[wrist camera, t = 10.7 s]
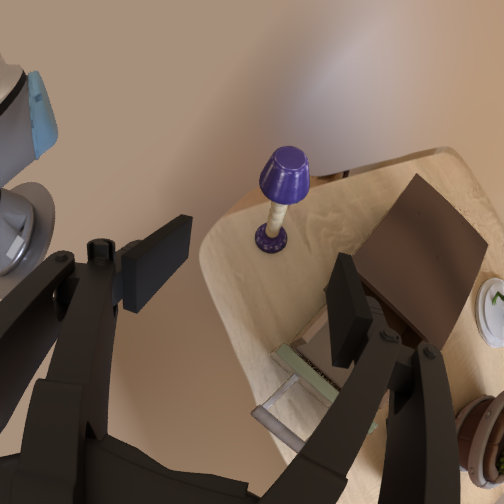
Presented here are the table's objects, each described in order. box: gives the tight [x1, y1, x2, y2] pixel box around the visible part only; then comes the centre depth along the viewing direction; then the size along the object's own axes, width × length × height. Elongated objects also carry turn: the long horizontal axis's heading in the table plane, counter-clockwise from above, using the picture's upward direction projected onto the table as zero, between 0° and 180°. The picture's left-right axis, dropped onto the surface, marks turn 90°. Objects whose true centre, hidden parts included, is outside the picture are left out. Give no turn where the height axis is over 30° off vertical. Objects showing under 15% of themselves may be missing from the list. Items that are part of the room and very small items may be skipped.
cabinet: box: [323, 173, 488, 351], centre depth 31 cm, size 17×14×10 cm
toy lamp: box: [255, 146, 310, 253], centre depth 30 cm, size 5×5×17 cm
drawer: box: [251, 280, 426, 453], centre depth 28 cm, size 22×13×8 cm, turn 135°
